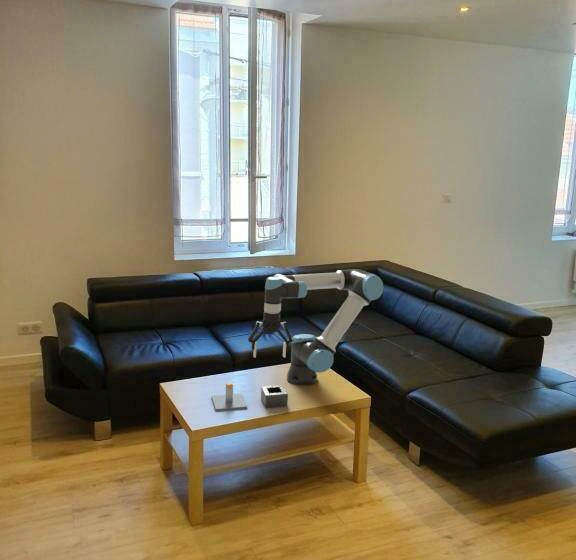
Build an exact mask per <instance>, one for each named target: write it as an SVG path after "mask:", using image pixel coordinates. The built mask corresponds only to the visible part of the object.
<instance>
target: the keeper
mask: <svg viewBox="0 0 576 560" xmlns="http://www.w3.org/2000/svg"><path fill="white" fill-rule="evenodd" d="M211 400H212V403H213V406H214V410H215V411H216V412H220V411H233V410H246V409H248V405H247V402H246V400H245V398H244V395H243V393H241V392H240V393H234V384H233V383H232V382H227V383H225V394H217V395H215V394H214V395H211Z"/></svg>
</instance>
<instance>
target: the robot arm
mask: <svg viewBox="0 0 576 560" xmlns="http://www.w3.org/2000/svg"><path fill="white" fill-rule="evenodd" d="M323 289H324V290H326V289H338V290H344V291H348V296H347V298H346V300H344V302H343V303H342V304H341V306H340V308H339V309H338V310H337V312H336V313H335V315H334V316H333V318H332V319H331V320H330V322H329V324H328V325H327V326H326V327H325V329H324V331H323V332H322V333H321V335H319V336H315V335H314V334H309V333H308V334H307V333H300V334H295V335H294V336H292V335H291V333H290V331H289V328H288V324H287V322H286V321H283V322H281V311H282V309H281V308H282V300H283V299H301V298H305V297H306V296H307V294H308V290H309V291H310V290H323ZM383 292H384V282H383V280H382V279H381V277H379V276H378V275H377V274H374V273H371V272H369V271H368V272H367V271H365V270H362V269H356V268H354V269H353V268H352V269H341V270H339V269H338V270H336V272H323V273H307V274H290V275H289V274H288V275H284V274H282V273H277V274H275V275H273V276H269V277H267V278H266V281H265V286H264V304H263V305H264V306H263V310H264V312H263V317H262V318H263V320H262V321H259V320H257V321H256V322H255V326H254V327H253V328H252V329H253V330H252V331H251V333H250V335H249V336H248V337H247V341H248V343H251V351H253V354H252V355H253V358H256V357H257V342H258V341H259V340H260V338H262V336H263V335H264V334H265V333H266V332H267V333H275V332H277V333H278V335H279V337H281V338H282V340H283V341H284V342H283V347H282V357H283V358H286V355H287V354H286V353H287V351H288V350H289V344H290V343H291V344H290V345H291V352H290V366H289V368H288V371H287V373H286V380H287V382H288V383H291V384H293V385H298V386H309V385H313V384H315V383H317V381H318V374H317V373H324V372H327V371H328V370H329V369H331V367H332V366H333V365H334V364H333V363H334V355H335V354H336V347H337V345H338V343H339V342H340V340H341V339H342V337H343V336H344V335H345V333H346V332H347V331H348V329H349V328H350V326H351V325H352V323H353V322H354V320H355V319H356V318H357V316H358V315H359V313H360V312H361V311H362V309H363V308H364V306H365V307H366V306H369V305H370V303H371V301H375V300H378V299H379V298H380V297H381V295H382V294H383ZM261 326H262V327H263V328H261V330H260V331H259V332H258V330H259V328H260V327H261ZM280 327H282V328H283V329H284V331H285V334H286V335H287V337H286V336H285V335H284V333H283V332H282V331H281V329H280ZM257 332H258V333H257ZM256 333H257V334H256ZM287 338H288V339H287Z"/></svg>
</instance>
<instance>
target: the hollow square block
mask: <svg viewBox="0 0 576 560" xmlns="http://www.w3.org/2000/svg"><path fill="white" fill-rule="evenodd" d="M288 398H289V393H288V392H287V390H286V388H285V387H284V385H283V384H278V385H277V384H276V385H266V386H265V385H263V386H261V387H260V400H261V401H262V403H263V406H264V408H265V409H270V408H271V409H272V408H285V407H288V402H289V399H288Z"/></svg>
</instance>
